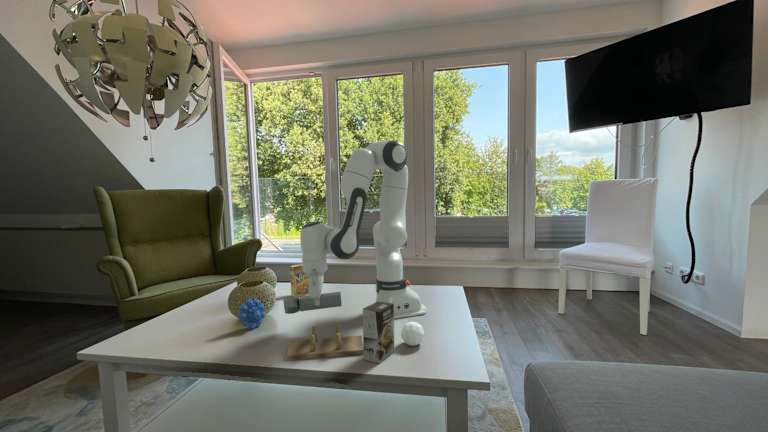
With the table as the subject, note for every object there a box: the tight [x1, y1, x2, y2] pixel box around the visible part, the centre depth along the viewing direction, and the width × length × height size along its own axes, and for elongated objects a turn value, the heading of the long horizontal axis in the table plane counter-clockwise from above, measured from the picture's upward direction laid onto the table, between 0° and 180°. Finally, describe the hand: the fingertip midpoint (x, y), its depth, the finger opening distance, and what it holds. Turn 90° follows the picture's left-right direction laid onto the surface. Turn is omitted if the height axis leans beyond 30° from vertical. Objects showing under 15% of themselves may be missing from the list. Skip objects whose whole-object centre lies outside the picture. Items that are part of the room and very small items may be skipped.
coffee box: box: [362, 301, 395, 364], centre depth 112 cm, size 9×6×16 cm
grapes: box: [238, 298, 266, 330], centre depth 135 cm, size 12×7×12 cm, turn 148°
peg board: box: [285, 324, 363, 361], centre depth 117 cm, size 24×11×6 cm, turn 97°
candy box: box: [289, 263, 310, 297], centre depth 177 cm, size 9×4×15 cm, turn 126°
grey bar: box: [282, 291, 343, 315], centre depth 131 cm, size 21×6×4 cm, turn 97°
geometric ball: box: [400, 321, 425, 347], centre depth 119 cm, size 8×8×8 cm
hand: (318, 302), depth 131 cm, fingers closed on grey bar, 3 cm apart
